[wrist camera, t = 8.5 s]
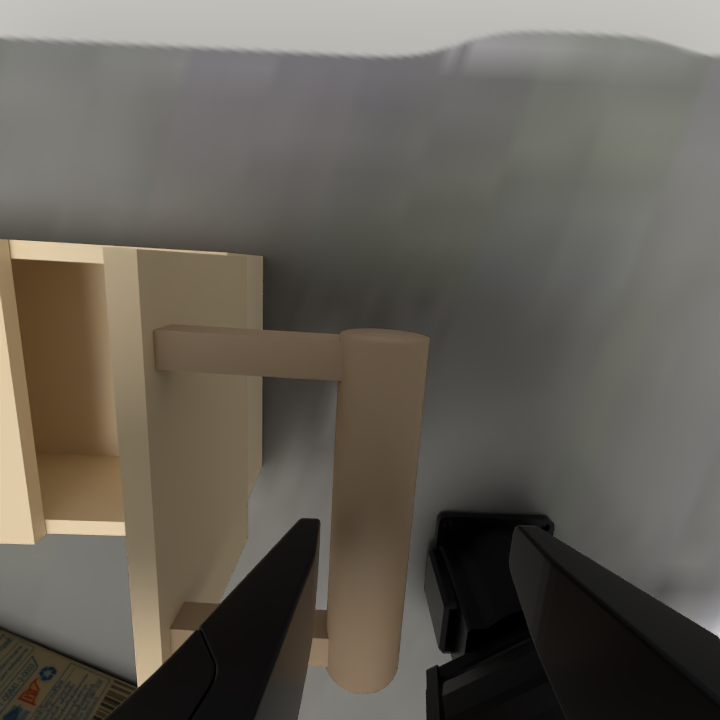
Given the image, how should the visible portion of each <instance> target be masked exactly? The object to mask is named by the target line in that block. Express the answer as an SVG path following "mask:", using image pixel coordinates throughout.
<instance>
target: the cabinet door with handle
mask: <svg viewBox="0 0 720 720" xmlns="http://www.w3.org/2000/svg"><path fill="white" fill-rule="evenodd" d="M103 260H104V272H105V285H106V297H107V310H108V322H109V335H110V347H111V360H112V372H113V385H114V397H115V410H116V422H117V435H118V447H119V460H120V472H121V485H122V497H123V510H124V522H125V534H126V547H127V559H128V572H129V584H130V597H131V609H132V622H133V634H134V647H135V659H136V672H137V684H138V687H139V686H140V685H141V684H143V683H144V682H145V681H146V680H147V679H148V678H149V677H150V676H151V675H152V674H153V673H154V672H155V671H156V670H157V669H158V668H159V667H160V666H161V665H162V664H163V663H164V662H165V661H166V660H167V659H168V658H169V657H170V656H171V655H172V654H173V653H174V652H175V651H176V650H177V649H178V648H179V647H180V646H181V645H182V644H183V643H184V642H185V641H186V640H187V639H188V638H189V636H190V635H191V634H192V633H193V632H194V631H195V630H198V629H199V626H200V625H201V624H202V623H203V622H204V621H205V620H206V619H207V618H208V616H209V615H210V614H211V613H212V612H213V611H214V610H215V609H216V608H217V607H218V606H219V605H220V604H219V603H220V600H221V598H222V596H223V594H224V591H225V589H226V587H227V584H228V582H229V580H230V578H231V575H232V573H233V571H234V568H235V566H236V564H237V562H238V559H239V557H240V555H241V552H242V550H243V548H244V546H245V543H246V541H247V539H248V426H247V376H263V377H279V378H296V379H312V380H329V381H338V391H337V412H336V433H335V454H334V475H333V496H332V517H331V538H330V559H329V580H328V601H327V610H315V617H314V629H313V639H312V646H311V652H310V657H309V662H308V666H321V667H326V668H327V671H328V673H329V675H330V677H331V678H332V679H333V680H334V682H335V683H337V684H338V685H339V686H340V687H342V688H343V689H345V690H347V691H350V692H353V693H357V694H369V693H374V692H377V691H379V690H381V689H383V688H385V687H386V686H387V685H388V684H389V683H390V682H391V681H392V680H393V678H394V676H395V674H396V672H397V668H398V660H399V650H400V640H401V629H402V619H403V609H404V599H405V588H406V578H407V568H408V558H409V547H410V537H411V527H412V516H413V506H414V496H415V486H416V475H417V465H418V455H419V445H420V434H421V424H422V414H423V403H424V393H425V383H426V373H427V362H428V352H429V342H430V338H429V337H427V336H425V335H422V334H418V333H414V332H409V331H402V330H393V329H379V328H358V329H348V330H344V331H342V332H340V334H327V333H310V332H293V331H277V330H260V329H247V257H241V256H227V255H213V254H200V253H186V252H172V251H158V250H144V249H129V248H112V247H103Z"/></svg>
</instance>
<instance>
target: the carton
mask: <svg viewBox="0 0 720 720" xmlns="http://www.w3.org/2000/svg"><path fill="white" fill-rule="evenodd" d="M103 247H112V248H129V249H144V250H158V251H172V252H186V253H200V254H213V255H227V256H241V257H247V329H260V330H263V256H256V255H246V254H236V253H224V252H208V251H191V250H174V249H157V248H141V247H124V246H107V245H91V244H74V243H57V242H40V241H24V240H7V239H0V543H4V544H36V543H37V542H38V541H39V540H40V539H41V538H42V537H43V536H45V535H46V533H53V534H86V535H118V536H126V534H125V522H124V510H123V497H122V485H121V472H120V460H119V447H118V435H117V422H116V410H115V397H114V385H113V372H112V360H111V347H110V335H109V322H108V310H107V297H106V285H105V272H104V260H103ZM262 382H263V376H247V426H248V499H249V496H250V494H251V492H252V489H253V487H254V485H255V482H256V480H257V477H258V475H259V473H260V470H261V468H262Z"/></svg>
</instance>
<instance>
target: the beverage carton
mask: <svg viewBox="0 0 720 720" xmlns="http://www.w3.org/2000/svg"><path fill="white" fill-rule="evenodd" d="M137 688H138V687H136V686H133V685H131V684H129V683H126V682H124V681H121V680H119V679H117V678H114V677H112V676H110V675H107V674H105V673H102V672H100V671H98V670H95V669H93V668H91V667H88V666H86V665H84V664H81V663H79V662H76V661H74V660H72V659H69V658H67V657H65V656H62V655H60V654H58V653H56V652H53V651H51V650H48V649H46V648H44V647H41V646H39V645H37V644H35V643H32V642H30V641H28V640H25V639H23V638H21V637H18V636H16V635H14V634H12V633H9V632H7V631H4V630H2V629H0V720H103V719H104V718H105V717H106V716H107V715H109V714H110V713H111V712H112V711H113V710H114V709H115V708H116V707H118V706H119V705H120V704H121V703H122V702H123V701H124V700H125V699H126V698H127V697H128V696H130V695H131V694H132V693H133V692H134V691H135V690H136V689H137Z"/></svg>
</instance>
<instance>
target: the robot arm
mask: <svg viewBox="0 0 720 720" xmlns="http://www.w3.org/2000/svg"><path fill="white" fill-rule="evenodd" d="M445 521H450V523H448V524H443V523H444V522H445ZM544 524H546V526H545V527H542V525H544ZM541 527H542V528H541ZM553 533H554V524H553V522H552V521H551V520H550V518H549V517H547V516H541V515H512V514H482V513H453V512H445V513H442V514H440V515H439V516H438V519H437V525H436V534H435V543H434V548H431V549H430V550H429V552H428V557H427V566H426V575H425V584H424V590H425V594H426V598H427V602H428V607H429V611H430V615H431V619H432V623H433V627H434V632H435V636H436V640H437V644H438V648H439V649H440V651H441V652H442V653H447V654H451V657H452V661H450V662H448V663H446V664H444V665H442V666H438V665H435V666H433V667H431V668H429V669H427V670H426V678H427V689H426V717H427V720H720V638H719V637H718V636H716V635H715V634H713V633H711V632H710V631H708V630H706V629H705V628H703V627H701V626H700V625H698V624H696V623H695V622H693V621H692V620H690V619H688V618H687V617H685V616H683V615H682V614H680V613H678V612H677V611H675V610H673V609H672V608H670V607H668V606H667V605H665V604H664V603H662V602H660V601H659V600H657V599H655V598H654V597H652V596H650V595H649V594H647V593H645V592H644V591H642V590H640V589H639V588H637V587H636V586H634V585H632V584H631V583H629V582H627V581H626V580H624V579H622V578H621V577H619V576H617V575H616V574H614V573H613V572H611V571H609V570H608V569H606V568H604V567H603V566H601V565H599V564H598V563H596V562H594V561H593V560H591V559H590V558H588V557H586V556H585V555H583V554H581V553H580V552H578V551H576V550H575V549H573V548H571V547H570V546H568V545H566V544H565V543H563V542H562V541H560V540H558V539H557V538H555V537H553ZM319 546H320V520H319V519H313V518H301V519H299V520H298V521H297V523H296V524H295V525H294V526H293V527H292V528H291V529H290V530H289V531H288V532H287V533H286V534H285V535H284V536H283V537H282V539H281V540H280V541H279V542H278V543H277V544H276V545H275V546H274V547H273V548H272V549H271V550H270V551H269V552H268V553H267V555H266V556H265V557H264V558H263V559H262V560H261V561H260V562H259V563H258V564H257V565H256V566H255V567H254V568H253V569H252V571H251V572H250V573H249V574H248V575H247V576H246V577H245V578H244V579H243V580H242V581H241V582H240V583H239V584H238V586H237V587H236V588H235V589H234V590H233V591H232V592H231V593H230V594H229V595H228V596H227V597H226V598H225V599H224V600H223V602H222V603H221V604H220V605H219V606H218V607H217V608H216V609H215V610H214V611H213V612H212V613H211V614H210V615H209V616H208V618H207V619H206V620H205V621H204V622H203V623H202V624H201V625H200V626H199V629H198V630H195V631H194V632H193V633H192V634H191V635H190V636H189V638H188V639H187V640H186V641H185V642H184V643H183V644H182V645H181V646H180V647H179V648H178V649H177V650H176V651H175V652H174V653H173V654H172V655H171V656H170V657H169V658H168V659H167V660H166V661H165V662H164V663H163V664H162V665H161V666H160V667H159V668H158V669H157V670H156V671H155V672H154V673H153V674H152V675H151V676H150V677H149V678H148V679H147V680H146V681H145V682H144V683H143V684H141V685H140V686H139V687H138V688H137V689H136V690H135V691H134V692H133V693H132V694H131V695H130V696H128V697H127V698H126V699H125V700H124V701H123V702H122V703H121V704H120V705H119V706H118V707H116V708H115V709H114V710H113V711H112V712H111V713H110V714H109V715H107V716H106V717H105V718H104V719H103V720H297V719H298V714H299V709H300V704H301V699H302V693H303V688H304V683H305V678H306V673H307V668H308V662H309V657H310V652H311V646H312V639H313V629H314V617H315V604H316V591H317V578H318V565H319Z"/></svg>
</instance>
